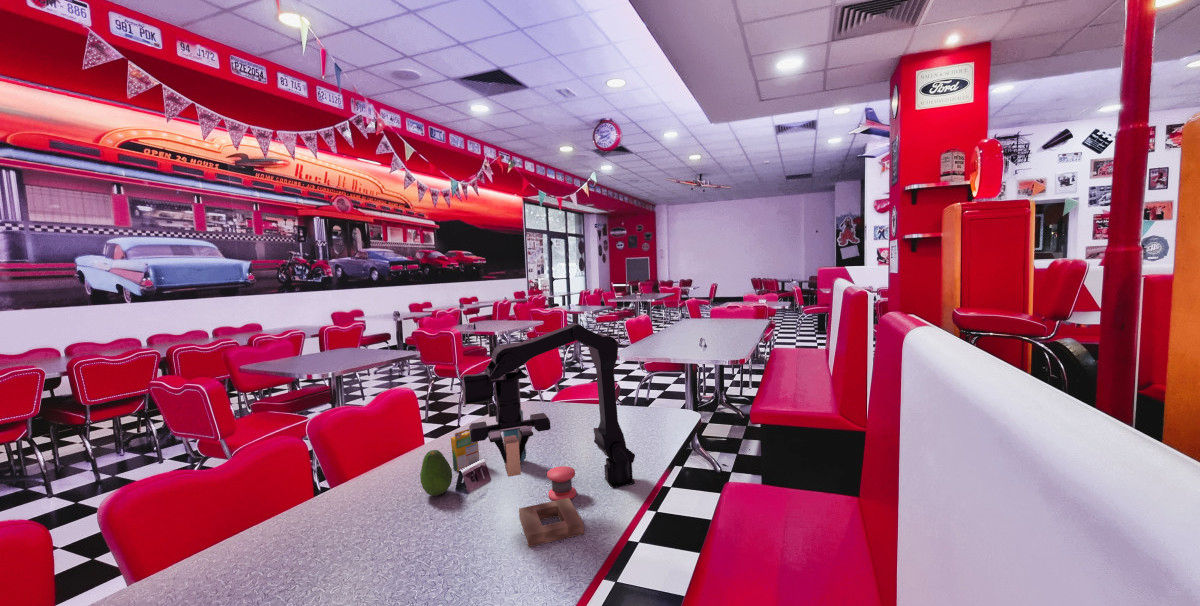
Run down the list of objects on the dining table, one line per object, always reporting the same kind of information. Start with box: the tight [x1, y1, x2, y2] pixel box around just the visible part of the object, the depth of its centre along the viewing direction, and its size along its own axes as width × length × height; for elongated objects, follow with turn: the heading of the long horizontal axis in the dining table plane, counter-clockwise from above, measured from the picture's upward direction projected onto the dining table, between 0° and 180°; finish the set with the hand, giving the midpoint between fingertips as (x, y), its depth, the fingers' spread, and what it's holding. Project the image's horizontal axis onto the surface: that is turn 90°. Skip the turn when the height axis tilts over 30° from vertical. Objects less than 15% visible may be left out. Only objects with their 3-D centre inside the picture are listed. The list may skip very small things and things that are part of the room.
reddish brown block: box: [502, 435, 522, 478], centre depth 115 cm, size 3×5×8 cm, turn 19°
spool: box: [546, 465, 577, 502], centre depth 120 cm, size 7×7×6 cm
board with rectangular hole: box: [518, 498, 585, 548], centre depth 106 cm, size 12×12×2 cm
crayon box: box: [450, 428, 480, 473], centre depth 141 cm, size 7×3×12 cm, turn 134°
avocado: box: [419, 449, 453, 497], centre depth 124 cm, size 8×8×12 cm
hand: (512, 461), depth 115 cm, fingers closed on reddish brown block, 3 cm apart
